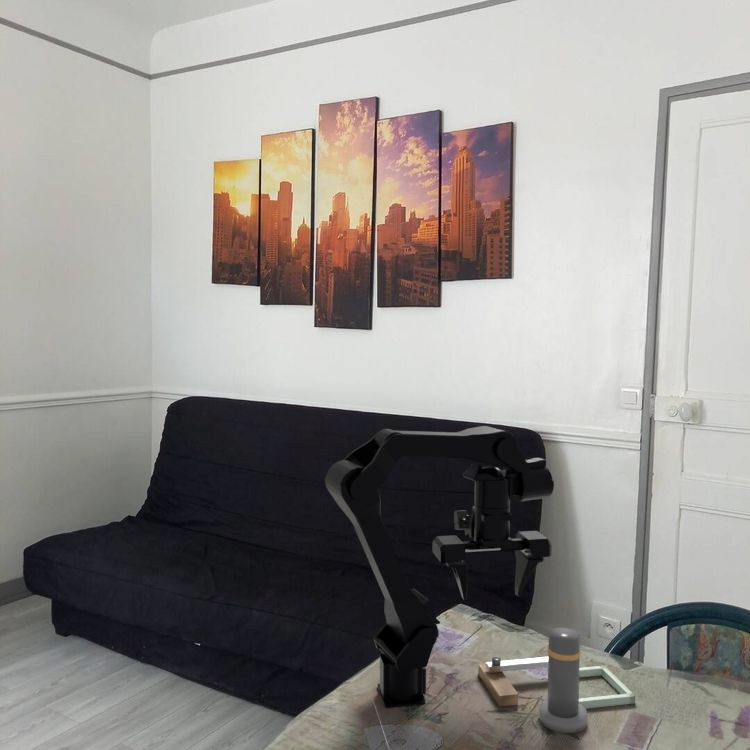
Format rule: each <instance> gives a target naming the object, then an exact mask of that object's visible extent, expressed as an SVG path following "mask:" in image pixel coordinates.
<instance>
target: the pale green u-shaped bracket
mask: <svg viewBox="0 0 750 750" xmlns="http://www.w3.org/2000/svg"><path fill="white" fill-rule="evenodd" d="M598 676H600V677H601V676H602V677H603V678H604V679H605V681H607V682H608V683H609V684H610V685H611V686H612V687H613V688H614V690H616V692H618V693H619V694H612V695H603V696H601V695H600V696H591V697H582V698H579V703H580V704H581V705H582V706H583V707H584V708H585V709H586V710H587V709H595V708H603V707H604V708H605V707H611V706H612V707H614V706H624V705H632V704H636V695H635V694H634V693H633V692H632V691H631V690H630V689H629V688H628V687H627V686H626V685H625V684H624V683H622V681H621V680H619V678H617V676H616V675H614V674H613V673H612V671H610V670H609V669H608V667H606V666H605V665H598V666H597V665H595V666H585V667H579V678H589V677H598Z"/></svg>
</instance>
